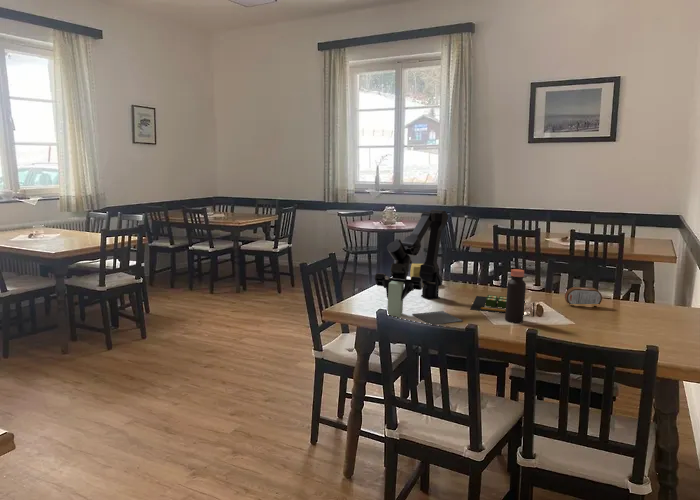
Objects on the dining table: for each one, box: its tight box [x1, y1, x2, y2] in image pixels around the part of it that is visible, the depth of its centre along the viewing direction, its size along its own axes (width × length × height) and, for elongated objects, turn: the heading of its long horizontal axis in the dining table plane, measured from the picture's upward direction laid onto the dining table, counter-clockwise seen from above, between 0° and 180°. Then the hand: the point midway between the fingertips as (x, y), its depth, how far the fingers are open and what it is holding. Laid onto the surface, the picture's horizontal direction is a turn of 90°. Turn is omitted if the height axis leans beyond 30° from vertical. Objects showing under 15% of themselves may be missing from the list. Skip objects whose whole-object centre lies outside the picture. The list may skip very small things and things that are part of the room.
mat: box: [412, 310, 463, 325], centre depth 209 cm, size 14×14×1 cm
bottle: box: [504, 268, 527, 324], centre depth 206 cm, size 7×7×20 cm
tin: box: [564, 286, 603, 305], centre depth 231 cm, size 15×3×8 cm, turn 84°
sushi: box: [469, 294, 507, 314], centre depth 230 cm, size 25×25×4 cm
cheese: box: [409, 262, 423, 279], centre depth 267 cm, size 10×11×10 cm
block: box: [387, 281, 405, 318], centre depth 211 cm, size 5×5×13 cm
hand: (394, 299), depth 209 cm, fingers closed on block, 5 cm apart
